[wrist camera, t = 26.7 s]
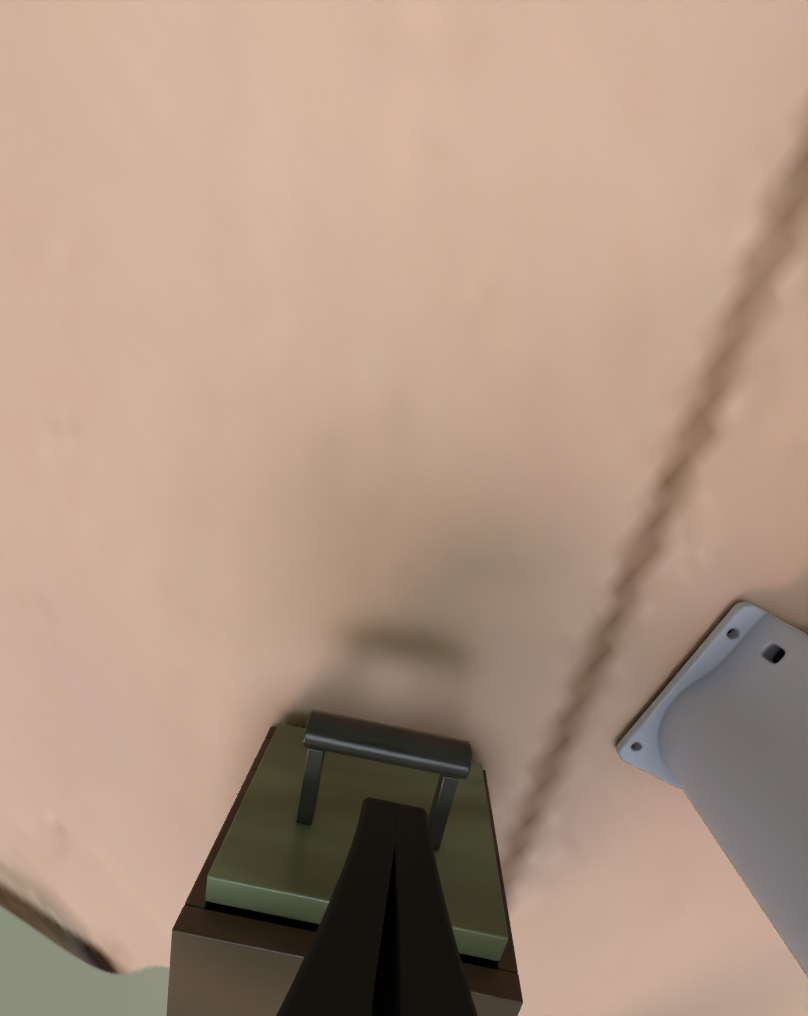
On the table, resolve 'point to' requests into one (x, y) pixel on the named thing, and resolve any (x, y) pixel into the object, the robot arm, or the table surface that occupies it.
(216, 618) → the table surface
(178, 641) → the table surface
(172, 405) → the table surface
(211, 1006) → the cabinet
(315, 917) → the drawer
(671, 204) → the table surface
